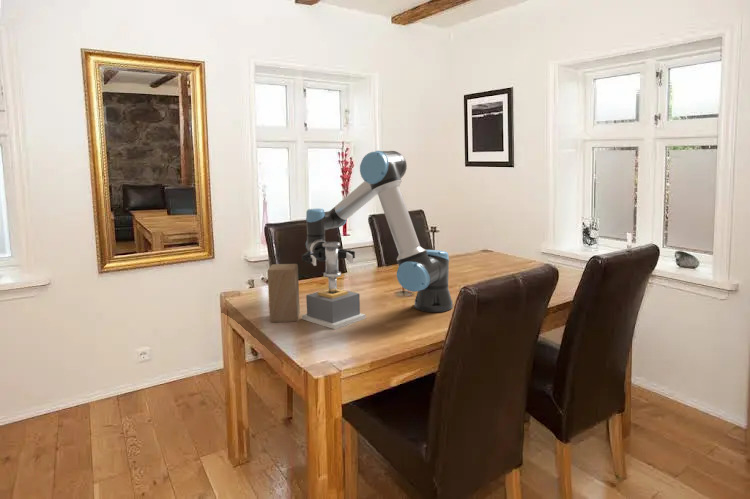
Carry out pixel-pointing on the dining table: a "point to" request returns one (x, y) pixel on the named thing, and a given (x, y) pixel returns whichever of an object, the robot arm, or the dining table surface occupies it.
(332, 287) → the steel pin
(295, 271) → the wooden block
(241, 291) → the dining table surface
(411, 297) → the dining table surface
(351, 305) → the pin housing
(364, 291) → the dining table surface
